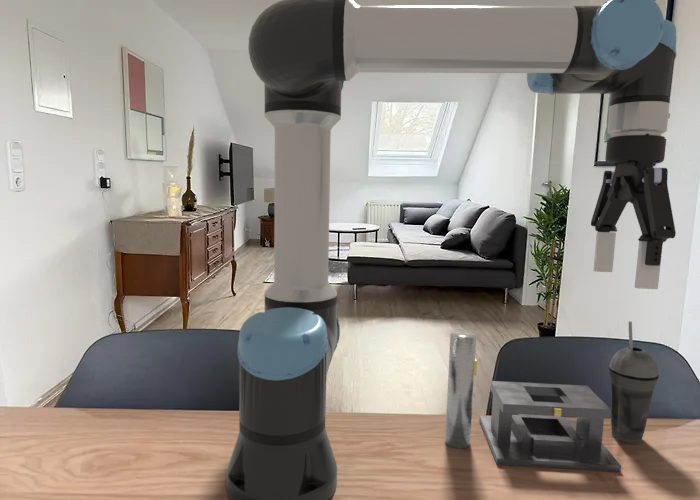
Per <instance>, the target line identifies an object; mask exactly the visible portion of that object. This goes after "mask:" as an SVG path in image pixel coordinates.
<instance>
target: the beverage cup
mask: <svg viewBox="0 0 700 500" xmlns="http://www.w3.org/2000/svg"><path fill="white" fill-rule="evenodd" d="M633 345H634V343H633V322H632V321H628V347H624V348H621V349H619V350H617V352H615V353H614V355H613V356H612V358H611V360H610V363H609V365H608V370H609V371H608V372H609V380H610V409H611V417H610V427H611V436H612V437H613V438H614V439H616V440H618V441H620V442H623V443H625V444H631V445H637V444H639V445H640V444H641V443H642V441H643V438H644V433H645V431H646V425H647V422H648V421H647V420H648V416H649V412H650V406H651V404H652V403H651V402H652V397H653V392H654V390H655V389H656V384H657V382H658V380H659V377H660V375H659V369H658V365H657V362H656V361H655V359H654V357H653V356H652V355H651V354H650V353H649V351H648V352H647V351H646V350H644V349H642V348H640V347H636V346H633Z"/></svg>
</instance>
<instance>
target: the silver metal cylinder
mask: <svg viewBox="0 0 700 500" xmlns="http://www.w3.org/2000/svg"><path fill="white" fill-rule="evenodd" d="M449 335H450V336H449V338H450V339H449V353H448V354H449V355H448V357H449V359H448V372H447V373H448V375H447V376H448V377H447V394H446V395H447V396H446V398H447V399H446V415H445V433H444V434H445V438H444V442H445V444H446V445H447V446H449V447H452V448H454V449H458V450H459V449H460V450H461V449H467V448H469V447H470V445H471V433H472V417H473V401H474V400H473V399H474V395H473V394H474V386H475V385H474V381H475V376H477V370H478V369H477V368H478V367H477V366H478V360H477V358H476V348H477V347H476V345H477V335H476V334H474V333H471V332H467V331H453V332H450V334H449Z"/></svg>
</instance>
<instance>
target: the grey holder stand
mask: <svg viewBox="0 0 700 500" xmlns="http://www.w3.org/2000/svg"><path fill="white" fill-rule="evenodd" d="M489 390H490V392H491V394H492V403H491V415H479V420H478V421H479V423H480V426H481V428H482V431H483V434H484V436H485V438H486V441H487V444H488V445H489V449H490V451H491V453H492V456H493V459H494V461H495V463H496V465H498V466H499V465H500V466H502V465H503V466H515V467H533V468H534V467H535V468H547V469H567V470H580V471H581V470H582V471H583V470H584V471H585V470H586V471H597V472H600V471H601V472H610V473H611V472H614V473H622V465H621V463H620V462H619V461H618V460H617V458H616V457H615V456H614V455H613V454H612V453H611V452H610V451H609V450H608V448H607V447H606V446H605V444H604V443H603V435H604V434H603V432H604V423H605V422H604V421H605V420H611V407H609V406H608V405H607V404H606V402H604V401H603V399H601V398H600V397H599V396H598V395H597V394H596V393H595V392H594V391H593V390H592V388H590V387H589V386H588V385H579V384H578V385H577V384H560V383H559V384H558V383H542V382H541V383H538V382H522V381H521V382H519V381H498V380H490V388H489ZM531 396H544V397H559V398H560V400H561V401H563V402H555V401H554V402H553V401H552V402H551V401H534V400H533V398H532V397H531ZM566 417H568V418H576V420H572V419H571V420H569V419H567V418H566Z"/></svg>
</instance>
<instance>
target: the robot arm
mask: <svg viewBox="0 0 700 500" xmlns="http://www.w3.org/2000/svg"><path fill="white" fill-rule="evenodd" d="M247 48H248V54H249V61H250V63H251V66H252V69H253V70H254V71H255V72H254V73H256V75H257V77H258V78H259V79H260V80H261V82H262V83H263V84H264V118H266V120H267V121H268V122H269V123H270V124H271V125H272V126H273V128H274V234H273V235H274V237H273V238H274V248H273V250H274V252H273V253H274V255H273V256H274V260H273V262H274V265H273V266H274V269H273V270H274V271H273V273H274V275H273V276H274V277H273V278H274V279H273V282H272V284H271V285H270V286H269V287H267V289H266V290H265V291H264V311H263V312H262V311H260V312H257V313H254V314H253V315H251V316H249V317H248V318H247V319H246V320H245V321H244V322H243V323H242V325H241V327H240V329H239V334H238V335H239V336H238V342H237V351H236V353H237V358H238V408H239V409H238V414H239V415H238V416H239V419H238V423H239V424H238V425H239V426H238V427H239V432H238V436H237V437H236V441H235V444H234V447H233V450H232V453H231V457H230V459H229V462H228V465H227V468H226V476H225V477H226V478H225V481H226V482H225V483H226V484H225V485H226V490H225V491H226V494H227V497H228V499H229V500H330V499H331V498H332V496H333V494H334V493H335V492H336V489H337V485H338V465H337V461H336V457H335V454H334V451H333V449H332V446H331V445H332V444H331V442H330V438H329V436H328V432H327V430H326V415H327V414H326V413H327V412H326V411H327V410H326V409H327V407H326V403H327V375H328V373H329V368H330V366H331V362H332V360H333V356H334V353H335V351H336V350H337V347H338V344H339V341H340V336H341V335H340V333H341V327H340V323H339V318H338V291H337V290H336V289H335V288H334V286H332V285H331V284H330V282H329V255H330V254H329V253H330V250H329V247H330V246H329V245H330V199H331V198H330V197H331V196H330V193H331V188H330V187H331V186H330V185H331V135H332V134H331V132H332V131H331V130H332V129H333V128H334V126H336V124H338V123H339V122H340V121H341V118H342V117H341V115H342V111H341V110H342V90H343V88H344V83H345V82H350V81H351V80H352V79H353V78H354V77H355V76H356V75H357V74H359V73H393V74H394V73H400V74H401V73H403V74H404V73H405V74H407V73H408V74H409V73H411V74H412V73H414V74H416V73H418V74H419V73H423V74H426V73H428V74H429V73H431V74H433V73H434V74H436V73H437V74H438V73H440V74H441V73H443V74H446V73H447V74H448V73H449V74H463V73H464V74H526V83H527V86H528V89H529V90H530V91H531V92H533V93H539V94H548V95H551V96H553V95H554V94H559V95H560V94H561V95H562V94H565V95H566V94H567V95H569V94H571V95H572V94H575V95H576V94H577V95H578V94H581V95H582V94H585V95H587V94H598V95H602V94H603V95H606V94H607V95H610V102H609V107H608V108H609V110H608V118H607V129H606V130H607V132H606V133H607V134H608V135H610V136H611V137H609V138H608V139H607V140H606V149H605V162H606V163H607V164H611V165H612V164H613V165H615V168H614V170H604V171H603V177H602V184H601V188H600V191H599V194H598V198H597V200H596V204H595V208H594V211H593V214H592V218H591V221H590V226H591V227H594V229H595V231H596V238H595V250H594V261H593V271H594V272H596V273H598V272H599V273H600V272H602V273H603V272H604V273H613V271H614V258H615V249H616V236H617V232H618V228H617V226H616V225H617V223H618V222H619V219H620V218H621V215H622V213H623V212H624V209H625V207H626V206H627V204H628V203H630V204H632V205H633V209H634V212H635V216H636V219H637V222H638V226H639V228H640V233H641V235H640V236H639V237H638V239H637V241H638V250H637V259H636V268H635V269H636V270H635V271H636V272H635V279H634V280H635V281H634V288H635V289H641V290H642V289H643V290H644V289H646V290H658V289H659V283H660V282H659V281H660V272H661V264H662V263H661V262H662V255H663V244H664V243H665V242H667V240H668V239H675V237H676V236H677V235H676V227H675V221H674V216H673V209H672V204H671V199H670V193H669V188H668V174H669V172H668V168H667V167H654V165H655V164H662V163H663V162H664V160H665V156H666V147H667V138H666V137H665V136H662V134H665V133H666V132H667V131H668V123H669V122H668V121H669V119H670V117H671V113H669V111H670V103H671V95H672V94H671V93H672V87H673V77H674V68H675V67H674V66H675V62H676V61H675V60H676V58H677V27H676V25H675V24H674V23H673V22H672V21H671V20H668V19H665V18H664V15H663V11H662V10H661V7H660V5H659V4H658V3H657V1H655V0H607V1H605V2H603V4H602V5H570V6H569V5H559V6H558V5H552V6H551V5H545V6H544V5H359V4H357V3H356V2H355V0H280V1H277V2H275V3H273V4H271V5H269V6H268V7H266V8H265V9H264V10H263V11H262V12H261V13H260V14H259V15H258V16H257V18H256V19H255V21H254V23H253V25H252V26H251V29H250V33H249V37H248V47H247Z"/></svg>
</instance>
